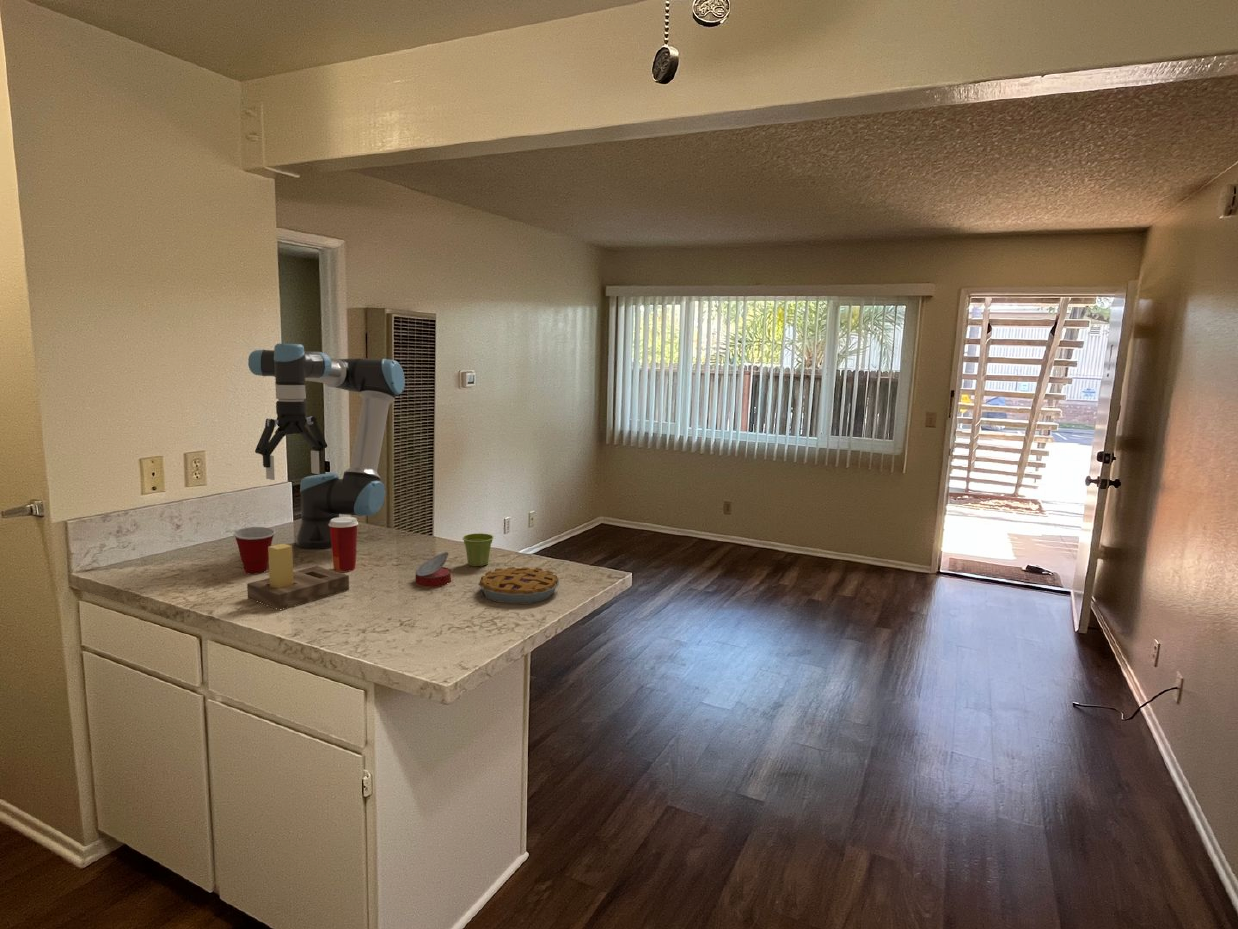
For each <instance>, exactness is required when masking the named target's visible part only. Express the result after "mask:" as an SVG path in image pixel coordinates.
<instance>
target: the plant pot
mask: <svg viewBox="0 0 1238 929" xmlns="http://www.w3.org/2000/svg"><path fill="white" fill-rule="evenodd" d="M494 537H495V536H493V535H492V534H490V533H483V532H482V533H481V532H479V533H469V534H465V535H463V536H462V541H463V544H464V546H465V551H466V552H465V553H466V557H467V558H466V559H467V564H469V566H471V565H472V566H471V567H473V566H481V567H482V566H484V565H486V564H487V565H489V561H490V552H491V546H492V544H493V540H494ZM487 565H486V566H487Z"/></svg>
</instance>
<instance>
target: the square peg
mask: <svg viewBox="0 0 1238 929" xmlns="http://www.w3.org/2000/svg"><path fill="white" fill-rule="evenodd" d="M268 553H269V561H268V576H269V577H268V578H270V587H273V588H276V589H280V588H284V587H287V586H291V585H293V572H294V564H293V563H294V561H293V560H294V559H293V558H294V557H293V545H288V544H285V543H280V544H275V545H271V546H270V547H268Z"/></svg>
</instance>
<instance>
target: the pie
mask: <svg viewBox="0 0 1238 929" xmlns="http://www.w3.org/2000/svg"><path fill="white" fill-rule="evenodd" d="M559 583H560V579H559V578H558V576H557V575H556V574H553V571H550V570H543V569H542V568H539V567H536V568H529V567H525V566H523V567H520V568H519V567H514V566H512V567H507V568H504V569H502V568H495V569H494V571H491V570H489V571H487V572H486V573H485V575H482V576H481V577H480V580H479V582H478V585H479V587H480V588H481V590H482V591H483V594H484V595H485V597H486V598H487V599H488V600H492V601H495V602H497V601H499V602H498V603H504V602H505V603H506V604H521V603H526V604H533V603H532V602H535V603H539V602H538V601H540V602H542V601H545V600H548V598H550V597H551V596H552V595H553V594H554V592H555V591H556V588H557V587H558V586H559V585H560V584H559ZM550 595H551V596H550ZM549 596H550V597H549Z"/></svg>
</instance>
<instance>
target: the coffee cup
mask: <svg viewBox="0 0 1238 929" xmlns="http://www.w3.org/2000/svg"><path fill="white" fill-rule="evenodd" d="M328 525H329V526H330V534H331V545H332V547H331V555H332V563H333V565H332V566H333V571H335V570H336V571H335V572H338V571H343V573H345V572H344V571H347V572H350V571H349V570H352V571H353V570H355V569H356V563H357V544H358V542H357V541H358V540H357V539H358V525H359V522H358V519H357V518H356V517H353V516H341V517H340V516H339V517H338V518H333V519H331V521H330V523H329V524H328Z"/></svg>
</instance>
